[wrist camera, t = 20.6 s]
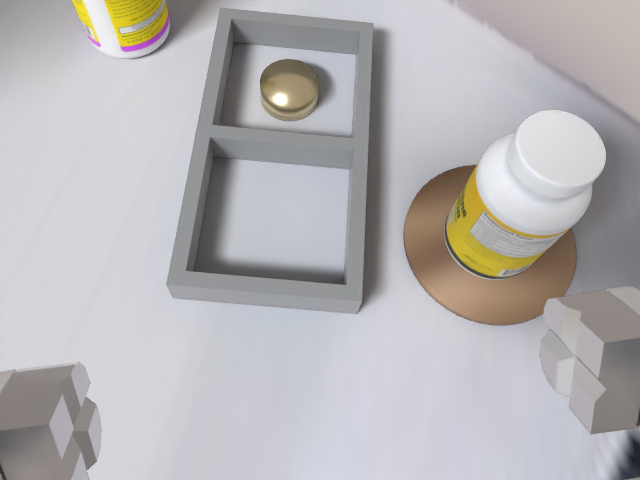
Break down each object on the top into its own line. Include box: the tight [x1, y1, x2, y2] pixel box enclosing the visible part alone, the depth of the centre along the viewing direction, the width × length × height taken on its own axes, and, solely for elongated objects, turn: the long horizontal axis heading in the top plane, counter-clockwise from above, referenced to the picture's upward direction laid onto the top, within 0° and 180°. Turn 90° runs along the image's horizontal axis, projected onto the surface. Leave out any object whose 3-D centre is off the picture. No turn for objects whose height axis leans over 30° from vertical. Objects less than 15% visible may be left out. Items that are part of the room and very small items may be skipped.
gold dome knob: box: [260, 59, 319, 121], centre depth 44 cm, size 4×4×2 cm
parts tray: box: [166, 8, 373, 314], centre depth 41 cm, size 23×12×2 cm, turn 176°
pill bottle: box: [444, 110, 606, 280], centre depth 34 cm, size 6×6×12 cm
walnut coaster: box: [403, 165, 576, 325], centre depth 40 cm, size 12×12×1 cm
